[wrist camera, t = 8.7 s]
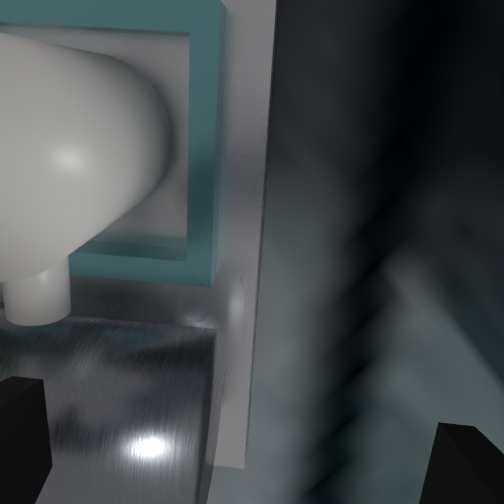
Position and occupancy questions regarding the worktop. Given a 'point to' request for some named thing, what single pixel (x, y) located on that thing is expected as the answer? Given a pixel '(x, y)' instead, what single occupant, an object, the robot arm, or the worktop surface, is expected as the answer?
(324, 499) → the worktop surface
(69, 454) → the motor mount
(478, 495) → the robot arm
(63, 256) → the grey rounded piece
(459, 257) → the worktop surface
